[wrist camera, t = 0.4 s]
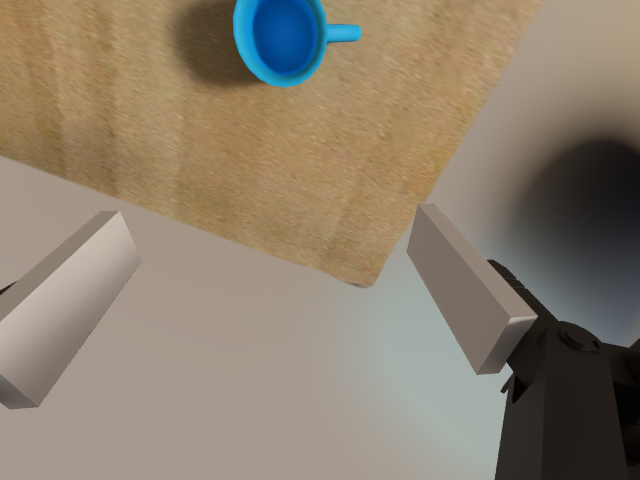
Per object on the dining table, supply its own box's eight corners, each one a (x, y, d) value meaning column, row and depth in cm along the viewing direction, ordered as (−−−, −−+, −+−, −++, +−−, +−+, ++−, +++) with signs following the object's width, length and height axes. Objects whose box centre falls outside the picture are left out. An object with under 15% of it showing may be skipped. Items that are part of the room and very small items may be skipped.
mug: (252, 81, 33) (242, 89, 26) (239, -11, 28) (222, -30, 22) (352, 77, 34) (367, 83, 27) (355, -14, 29) (374, -33, 22)
